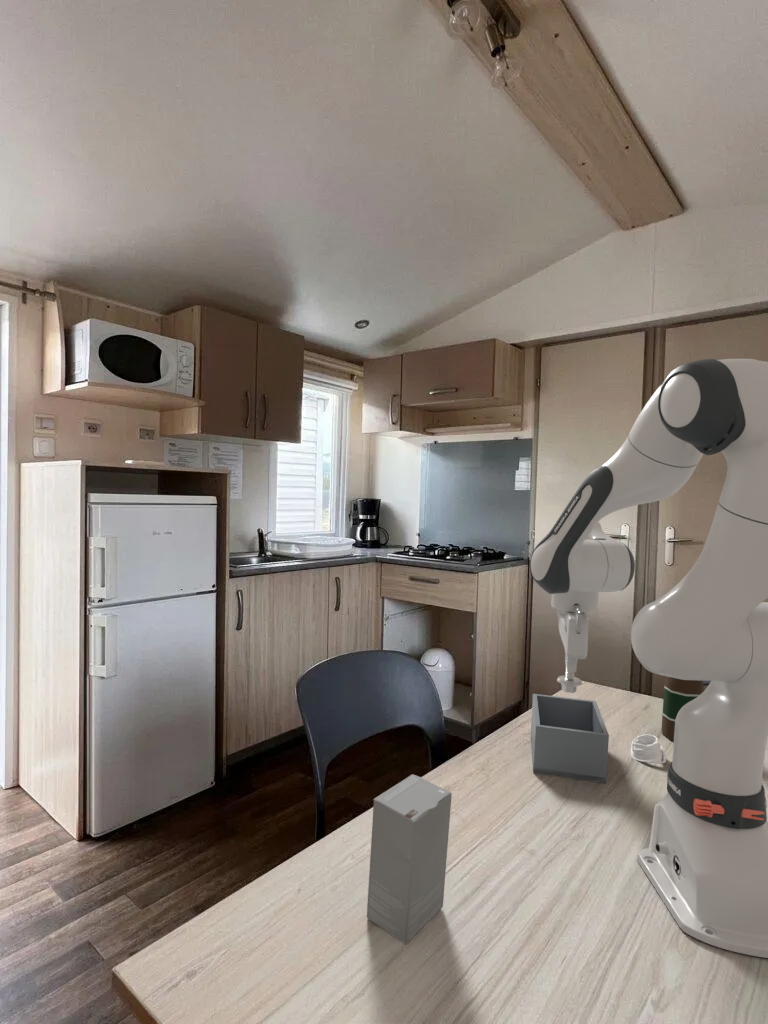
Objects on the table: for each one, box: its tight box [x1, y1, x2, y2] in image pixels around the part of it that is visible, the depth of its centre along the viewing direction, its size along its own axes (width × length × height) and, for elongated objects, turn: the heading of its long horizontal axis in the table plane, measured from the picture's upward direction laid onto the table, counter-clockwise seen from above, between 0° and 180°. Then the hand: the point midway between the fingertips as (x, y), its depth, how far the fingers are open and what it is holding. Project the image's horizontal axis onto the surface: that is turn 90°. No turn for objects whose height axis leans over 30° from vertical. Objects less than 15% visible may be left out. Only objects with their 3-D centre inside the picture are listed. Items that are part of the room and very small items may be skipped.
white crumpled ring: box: [630, 734, 667, 765], centre depth 120 cm, size 8×7×5 cm
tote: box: [530, 693, 610, 784], centre depth 119 cm, size 18×13×9 cm
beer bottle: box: [661, 676, 705, 742], centre depth 130 cm, size 8×8×24 cm
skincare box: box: [366, 773, 453, 945], centre depth 73 cm, size 8×7×16 cm
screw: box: [556, 657, 583, 694], centre depth 118 cm, size 13×5×5 cm
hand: (570, 668), depth 118 cm, fingers closed on screw
